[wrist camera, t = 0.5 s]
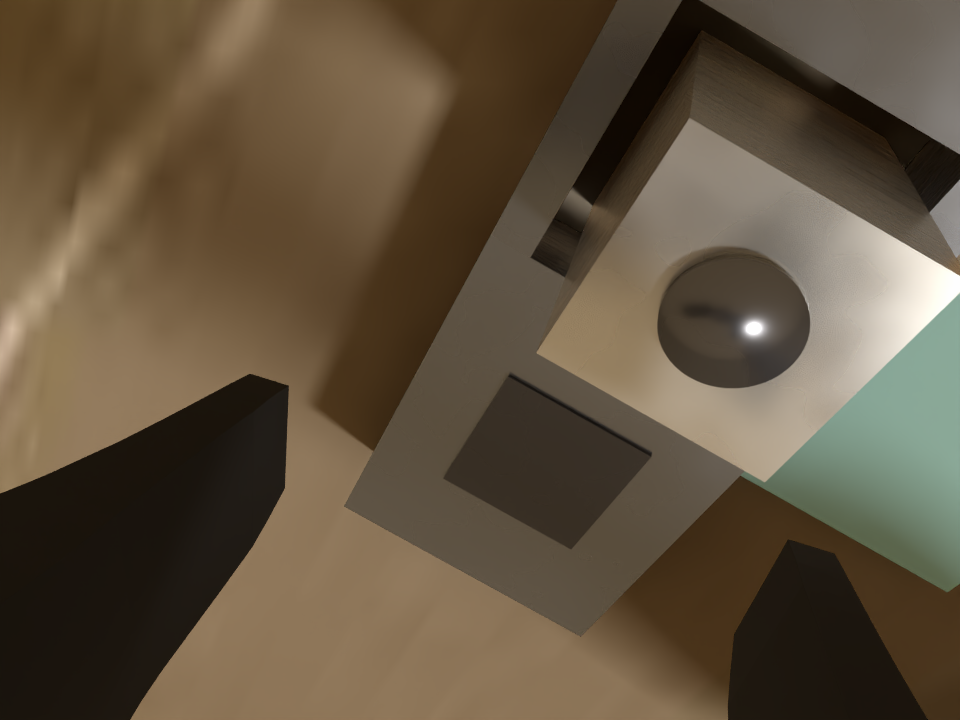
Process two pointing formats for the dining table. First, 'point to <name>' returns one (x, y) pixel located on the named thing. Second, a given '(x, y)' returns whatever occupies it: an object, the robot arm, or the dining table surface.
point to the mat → (892, 459)
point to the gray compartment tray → (573, 401)
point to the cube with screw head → (748, 264)
